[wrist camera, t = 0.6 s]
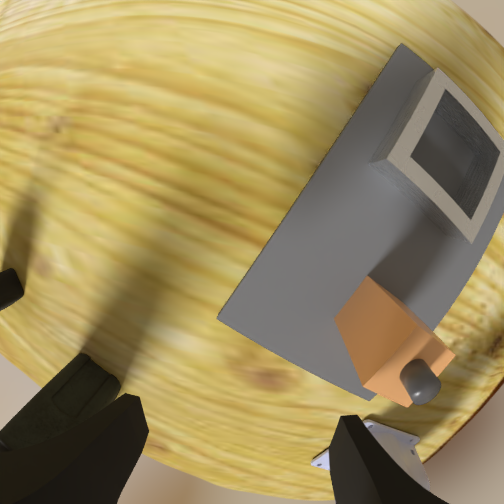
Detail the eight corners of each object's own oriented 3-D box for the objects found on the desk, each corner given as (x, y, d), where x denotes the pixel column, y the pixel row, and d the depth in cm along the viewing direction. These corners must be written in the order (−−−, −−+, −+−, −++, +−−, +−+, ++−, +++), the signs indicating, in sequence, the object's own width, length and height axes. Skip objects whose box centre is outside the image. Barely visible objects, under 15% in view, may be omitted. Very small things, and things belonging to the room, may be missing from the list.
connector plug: (402, 302, 16) (471, 372, 8) (370, 341, 17) (418, 428, 9) (367, 275, 16) (435, 343, 8) (333, 318, 17) (372, 410, 9)
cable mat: (513, 170, 14) (519, 170, 13) (366, 395, 19) (369, 401, 18) (397, 47, 13) (401, 43, 13) (218, 313, 18) (216, 318, 18)
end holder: (486, 154, 14) (511, 151, 11) (446, 235, 15) (471, 244, 12) (416, 81, 13) (437, 67, 10) (367, 163, 15) (386, 158, 12)
